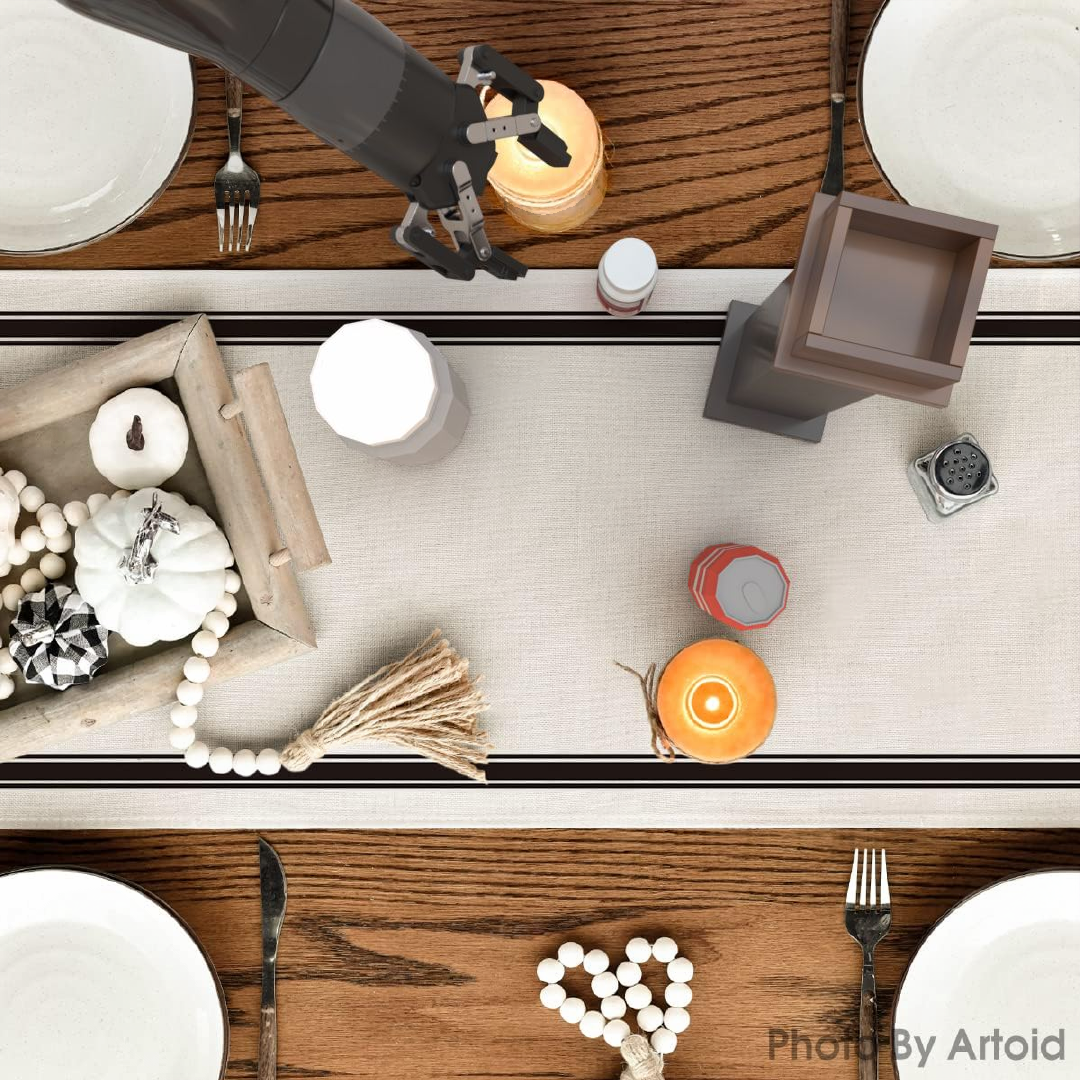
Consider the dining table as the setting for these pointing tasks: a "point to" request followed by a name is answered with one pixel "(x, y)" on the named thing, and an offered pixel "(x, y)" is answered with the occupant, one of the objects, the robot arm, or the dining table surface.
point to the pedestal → (767, 377)
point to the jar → (389, 393)
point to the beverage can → (739, 585)
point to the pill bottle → (626, 277)
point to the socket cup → (883, 297)
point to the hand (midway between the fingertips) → (541, 217)
